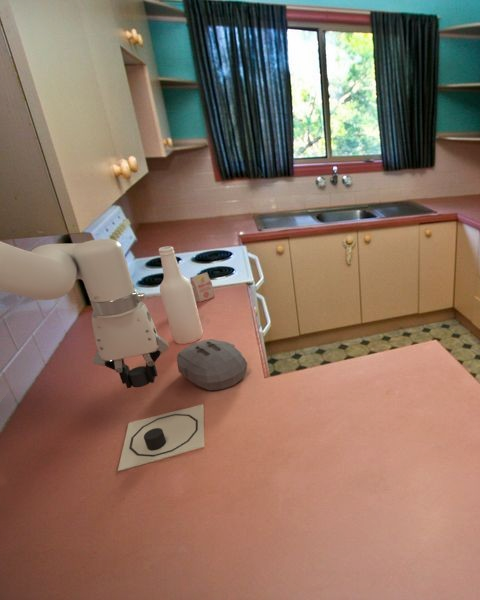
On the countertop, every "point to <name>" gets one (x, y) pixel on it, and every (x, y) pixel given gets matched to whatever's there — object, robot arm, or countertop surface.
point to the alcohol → (179, 300)
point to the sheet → (178, 433)
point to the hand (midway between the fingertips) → (141, 381)
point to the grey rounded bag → (212, 364)
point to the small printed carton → (202, 287)
